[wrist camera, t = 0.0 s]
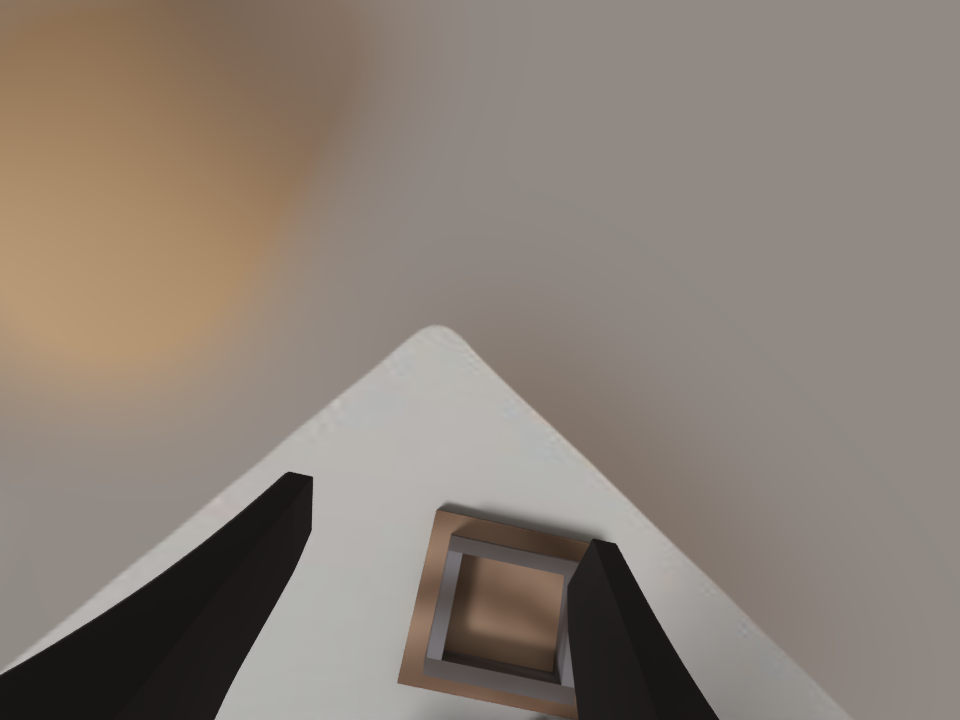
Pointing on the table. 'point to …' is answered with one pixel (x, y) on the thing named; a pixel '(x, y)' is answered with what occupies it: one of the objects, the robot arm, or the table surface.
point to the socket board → (494, 616)
